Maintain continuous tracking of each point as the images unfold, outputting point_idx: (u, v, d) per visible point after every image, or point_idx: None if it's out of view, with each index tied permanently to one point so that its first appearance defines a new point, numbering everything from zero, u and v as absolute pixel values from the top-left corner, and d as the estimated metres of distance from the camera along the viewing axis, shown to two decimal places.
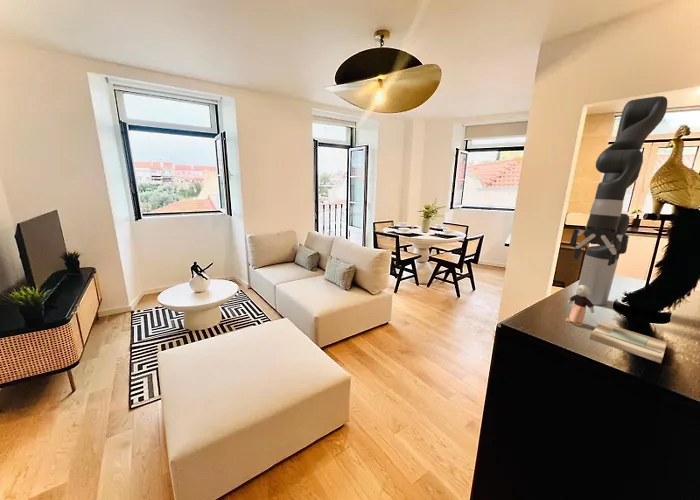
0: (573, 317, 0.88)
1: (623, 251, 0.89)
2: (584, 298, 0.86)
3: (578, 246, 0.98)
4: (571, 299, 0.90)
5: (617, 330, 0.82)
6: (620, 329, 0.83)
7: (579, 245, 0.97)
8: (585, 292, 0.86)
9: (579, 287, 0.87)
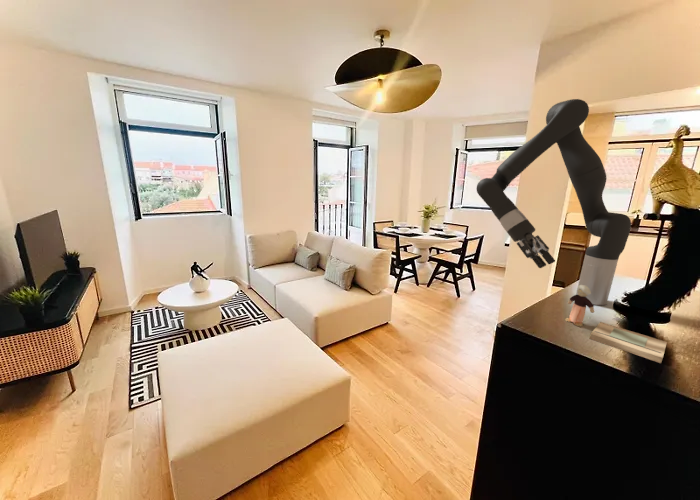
0: (573, 317, 0.88)
1: (526, 256, 0.92)
2: (584, 298, 0.86)
3: None
4: (571, 299, 0.90)
5: (617, 330, 0.82)
6: (620, 329, 0.83)
7: None
8: (585, 292, 0.86)
9: (579, 287, 0.87)
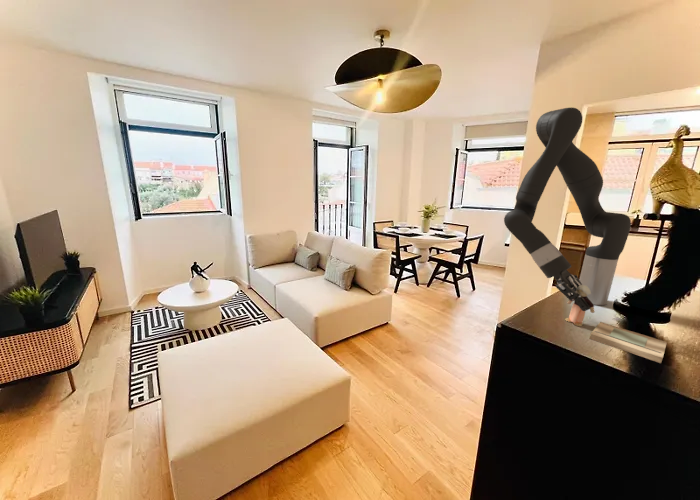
0: (573, 317, 0.88)
1: None
2: (584, 298, 0.86)
3: None
4: None
5: (617, 330, 0.82)
6: (620, 329, 0.83)
7: None
8: (586, 293, 0.85)
9: (579, 287, 0.87)
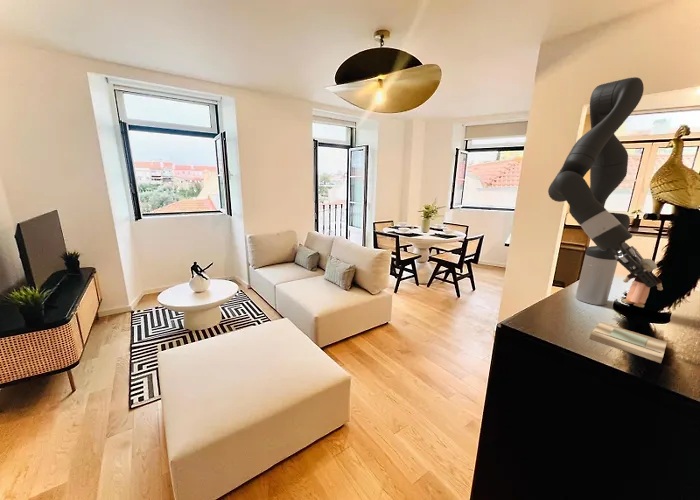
0: (635, 297, 0.75)
1: (631, 272, 0.74)
2: None
3: None
4: (630, 276, 0.77)
5: (617, 330, 0.82)
6: (620, 329, 0.83)
7: None
8: (652, 267, 0.73)
9: (643, 261, 0.74)
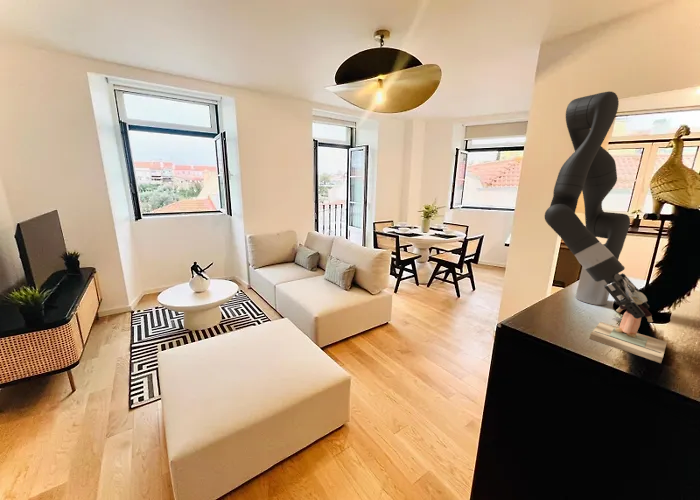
0: (627, 327, 0.79)
1: (618, 303, 0.75)
2: (640, 306, 0.78)
3: None
4: (622, 307, 0.81)
5: None
6: None
7: None
8: (642, 300, 0.77)
9: (634, 294, 0.78)
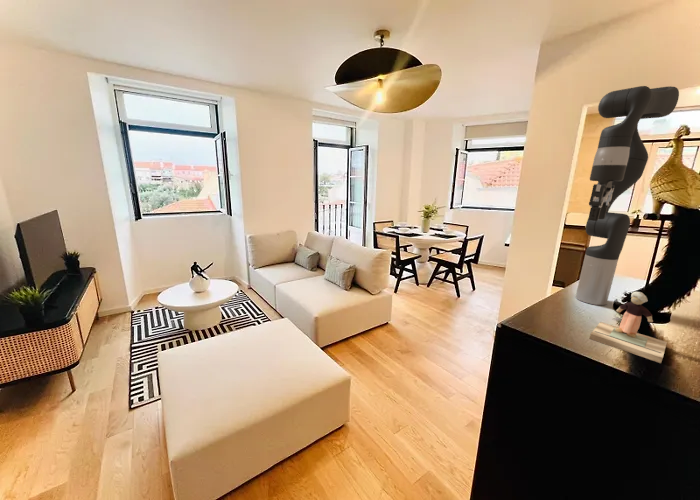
0: (627, 327, 0.79)
1: (589, 202, 0.83)
2: (640, 306, 0.78)
3: None
4: (622, 307, 0.81)
5: None
6: None
7: None
8: (643, 300, 0.77)
9: (634, 294, 0.78)
